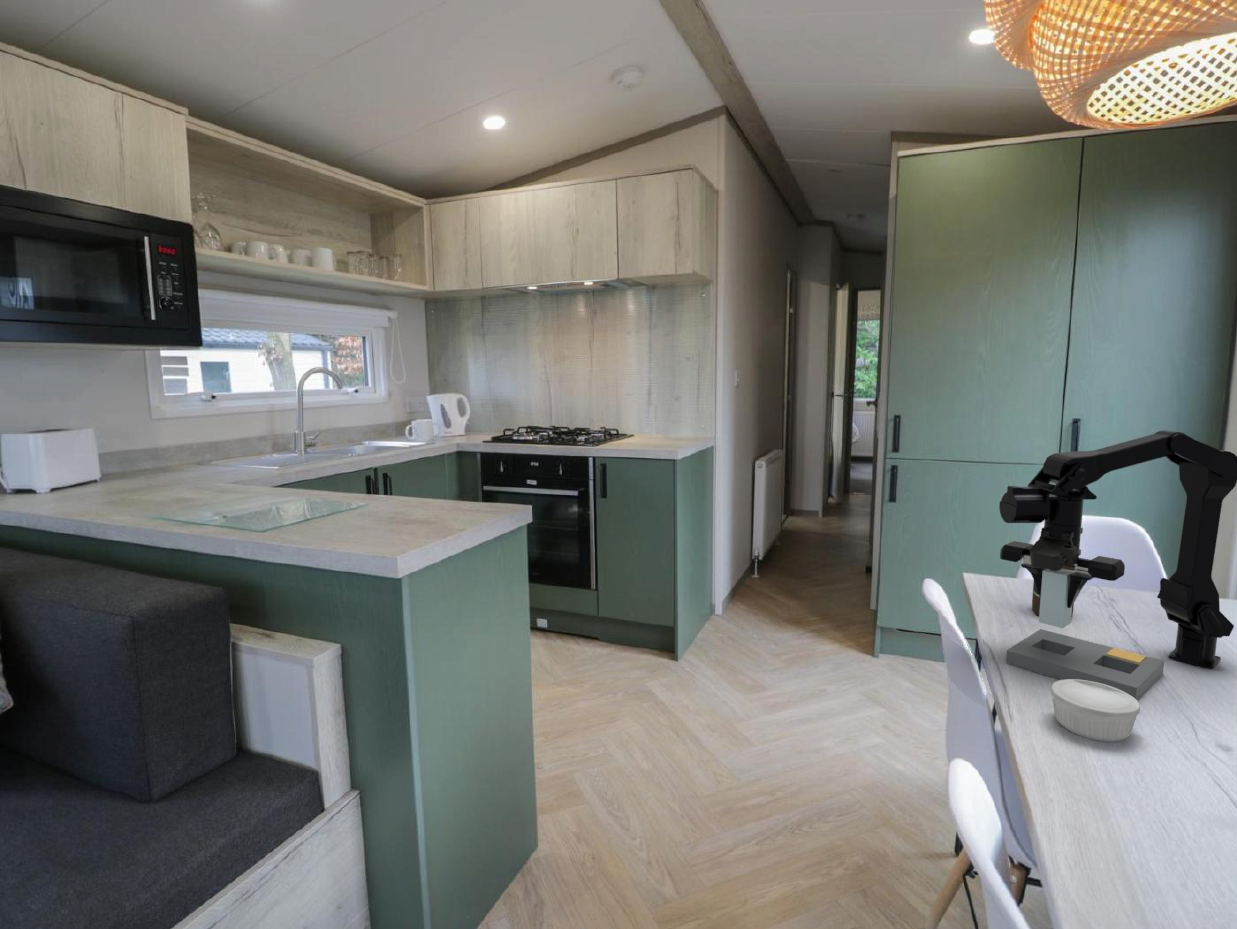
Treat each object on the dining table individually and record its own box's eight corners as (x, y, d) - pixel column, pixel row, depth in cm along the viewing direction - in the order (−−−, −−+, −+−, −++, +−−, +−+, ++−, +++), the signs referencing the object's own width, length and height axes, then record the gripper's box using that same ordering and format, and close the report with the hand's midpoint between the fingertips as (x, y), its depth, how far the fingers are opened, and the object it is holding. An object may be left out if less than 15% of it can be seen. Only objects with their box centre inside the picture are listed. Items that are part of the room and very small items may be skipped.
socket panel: (1039, 640, 138) (1040, 628, 137) (1162, 674, 122) (1164, 659, 122) (1005, 662, 128) (1006, 649, 127) (1135, 702, 112) (1137, 686, 112)
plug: (1046, 617, 131) (1050, 566, 129) (1070, 623, 127) (1075, 571, 126) (1038, 622, 128) (1042, 570, 127) (1062, 628, 125) (1067, 575, 124)
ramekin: (1135, 721, 107) (1138, 689, 106) (1139, 755, 97) (1143, 720, 97) (1050, 702, 113) (1052, 672, 112) (1047, 732, 104) (1049, 699, 103)
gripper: (990, 520, 127) (984, 601, 129) (1108, 539, 113) (1100, 629, 115) (1015, 512, 134) (1009, 588, 136) (1129, 528, 120) (1121, 614, 122)
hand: (1056, 604), depth 127 cm, fingers closed on plug, 4 cm apart
